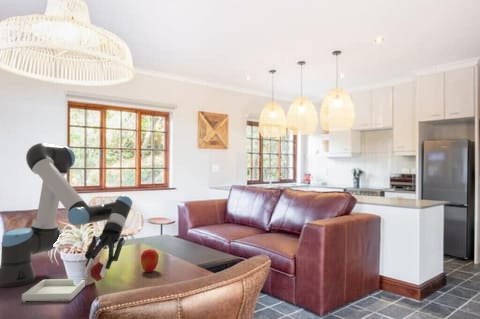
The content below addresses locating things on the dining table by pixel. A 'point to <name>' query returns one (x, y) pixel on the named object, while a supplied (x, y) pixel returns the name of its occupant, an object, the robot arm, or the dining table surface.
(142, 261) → the apple
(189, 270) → the dining table surface
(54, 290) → the dish
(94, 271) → the onion
